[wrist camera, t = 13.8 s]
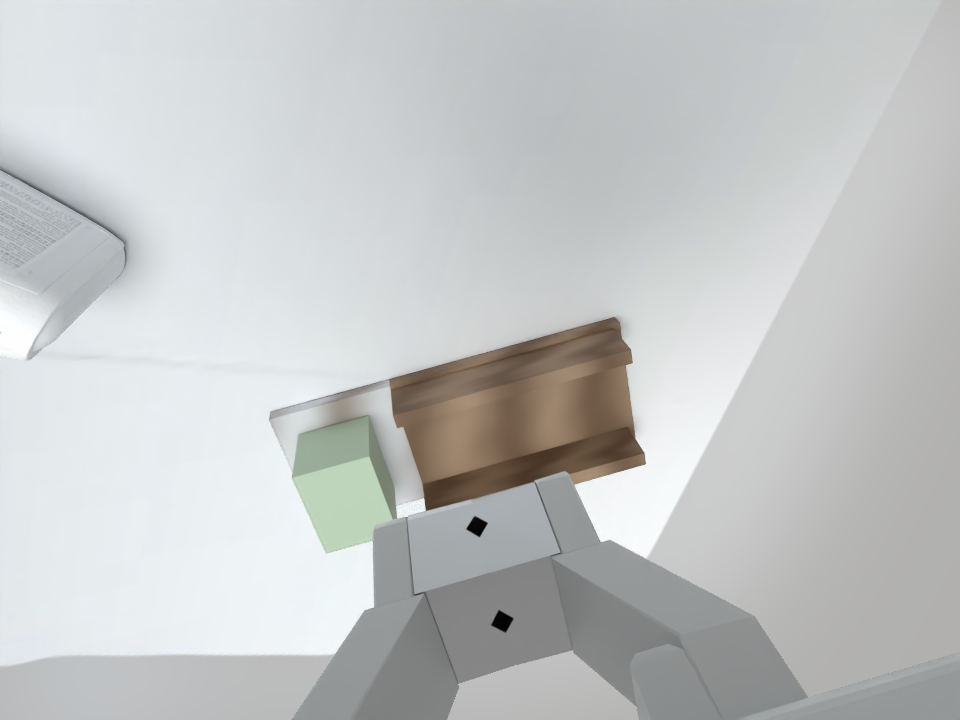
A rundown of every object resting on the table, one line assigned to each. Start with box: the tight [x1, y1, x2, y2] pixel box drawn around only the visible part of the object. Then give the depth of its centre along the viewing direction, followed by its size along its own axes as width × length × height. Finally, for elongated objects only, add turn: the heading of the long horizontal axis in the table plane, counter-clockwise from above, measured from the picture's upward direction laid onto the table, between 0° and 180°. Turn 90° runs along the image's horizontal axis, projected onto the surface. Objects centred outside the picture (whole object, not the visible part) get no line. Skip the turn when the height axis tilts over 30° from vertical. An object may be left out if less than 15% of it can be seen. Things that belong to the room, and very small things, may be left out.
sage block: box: [292, 416, 397, 554], centre depth 46 cm, size 5×7×5 cm
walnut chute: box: [269, 318, 646, 511], centre depth 48 cm, size 25×10×4 cm, turn 103°
